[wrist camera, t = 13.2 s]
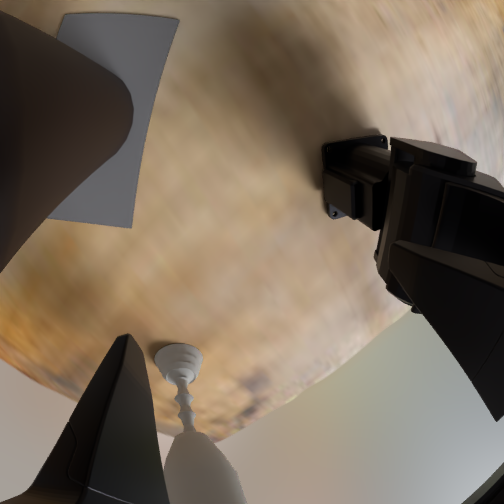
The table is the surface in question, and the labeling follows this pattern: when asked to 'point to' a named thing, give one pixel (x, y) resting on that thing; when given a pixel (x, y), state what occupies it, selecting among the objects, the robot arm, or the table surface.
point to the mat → (143, 96)
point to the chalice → (194, 441)
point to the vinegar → (50, 126)
